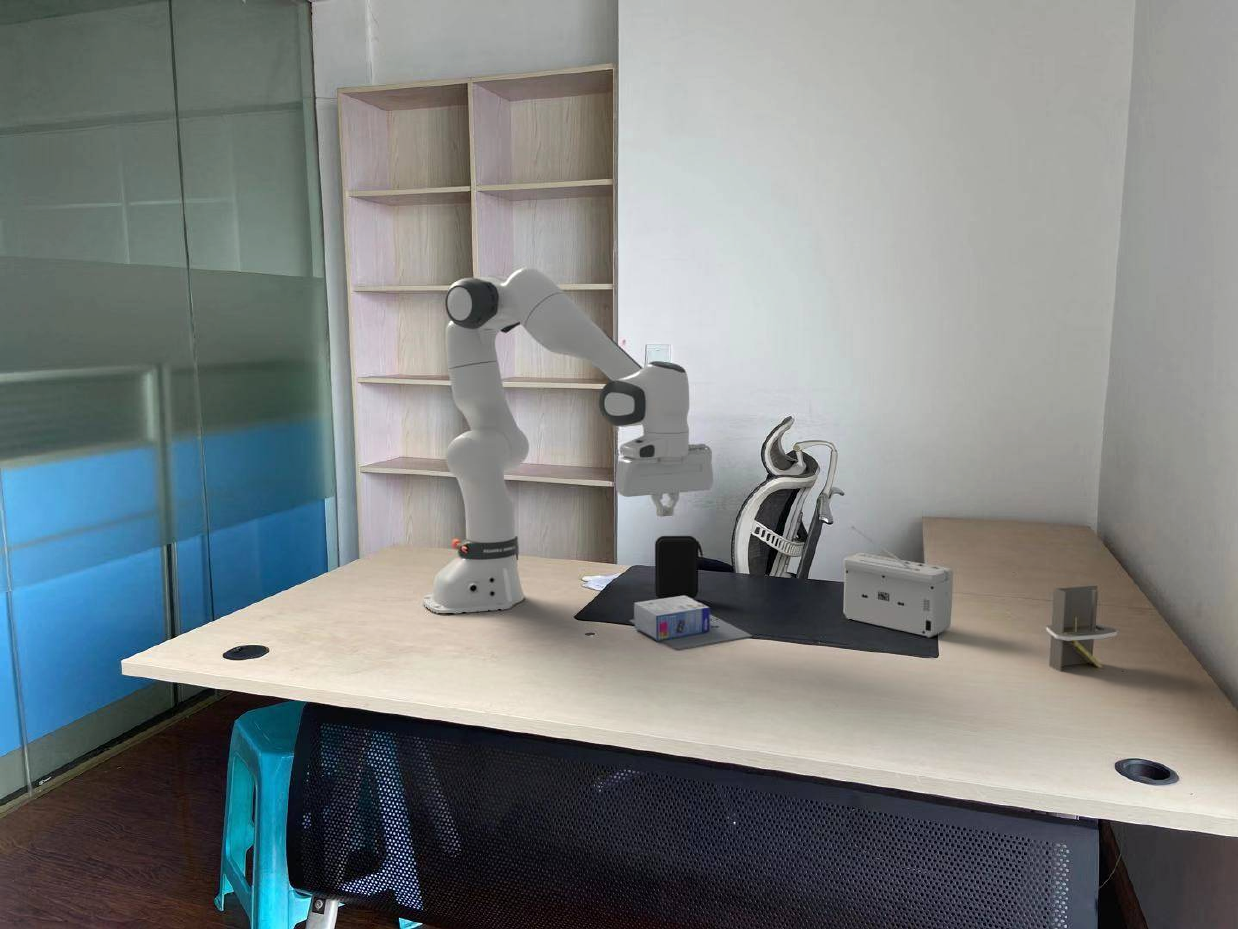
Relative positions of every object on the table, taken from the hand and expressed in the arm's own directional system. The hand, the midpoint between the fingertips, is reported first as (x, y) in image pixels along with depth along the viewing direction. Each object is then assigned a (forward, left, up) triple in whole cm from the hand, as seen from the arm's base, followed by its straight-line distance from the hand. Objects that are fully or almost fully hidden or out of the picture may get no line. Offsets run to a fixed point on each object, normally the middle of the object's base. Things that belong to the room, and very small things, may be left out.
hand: (665, 515), depth 184 cm
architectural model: (+56, -50, -24) cm, 79 cm away
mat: (+6, 0, -24) cm, 24 cm away
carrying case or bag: (+14, +19, -24) cm, 34 cm away
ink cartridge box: (-5, 0, -21) cm, 22 cm away
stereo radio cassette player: (+44, -17, -24) cm, 53 cm away
